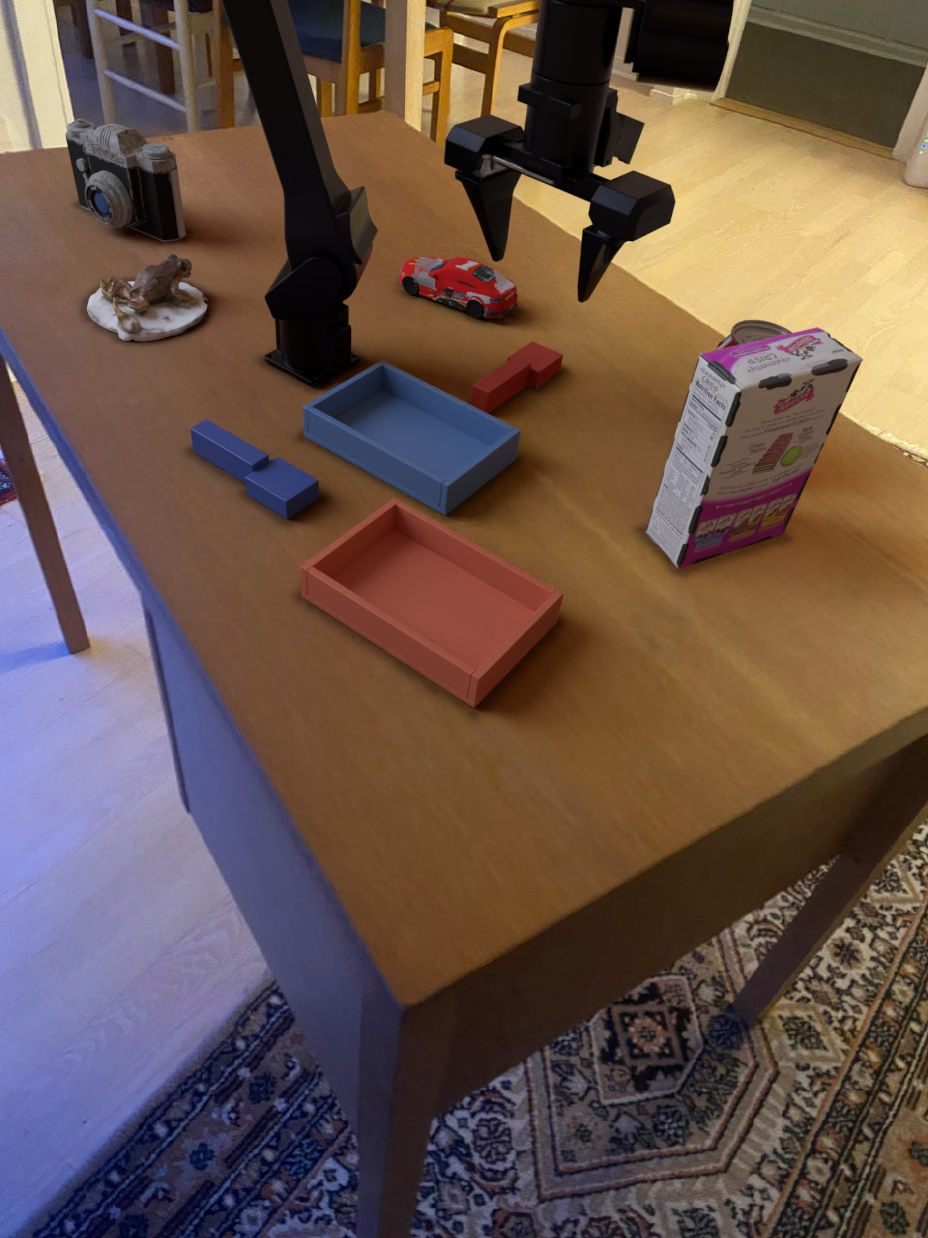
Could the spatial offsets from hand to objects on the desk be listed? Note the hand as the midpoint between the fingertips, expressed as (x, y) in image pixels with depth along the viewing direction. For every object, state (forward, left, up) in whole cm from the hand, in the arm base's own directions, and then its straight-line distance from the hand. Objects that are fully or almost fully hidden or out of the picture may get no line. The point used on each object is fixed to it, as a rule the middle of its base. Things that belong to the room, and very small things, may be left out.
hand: (539, 279), depth 76 cm
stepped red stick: (-1, 0, -11) cm, 11 cm away
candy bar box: (+23, -6, -12) cm, 26 cm away
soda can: (+19, +4, -12) cm, 22 cm away
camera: (-51, -4, -12) cm, 53 cm away
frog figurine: (-35, -14, -12) cm, 40 cm away
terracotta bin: (+11, -28, -11) cm, 32 cm away
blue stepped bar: (-9, -26, -11) cm, 29 cm away
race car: (-15, +10, -12) cm, 22 cm away
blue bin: (-2, -14, -11) cm, 18 cm away
